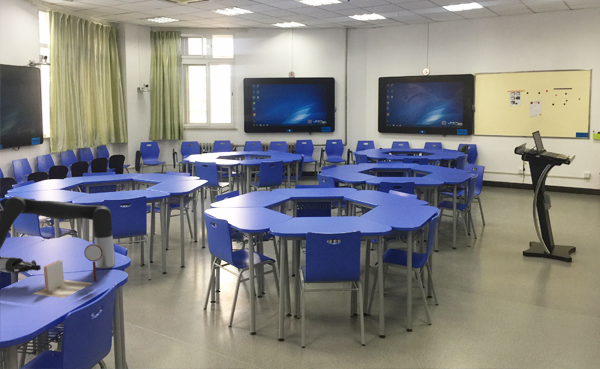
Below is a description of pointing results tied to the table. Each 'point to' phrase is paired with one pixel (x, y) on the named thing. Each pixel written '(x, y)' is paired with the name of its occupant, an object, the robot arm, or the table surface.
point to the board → (64, 289)
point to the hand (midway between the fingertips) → (39, 268)
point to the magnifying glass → (93, 255)
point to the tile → (53, 275)
